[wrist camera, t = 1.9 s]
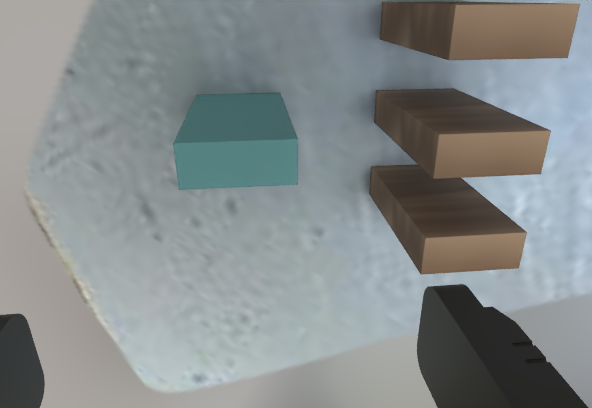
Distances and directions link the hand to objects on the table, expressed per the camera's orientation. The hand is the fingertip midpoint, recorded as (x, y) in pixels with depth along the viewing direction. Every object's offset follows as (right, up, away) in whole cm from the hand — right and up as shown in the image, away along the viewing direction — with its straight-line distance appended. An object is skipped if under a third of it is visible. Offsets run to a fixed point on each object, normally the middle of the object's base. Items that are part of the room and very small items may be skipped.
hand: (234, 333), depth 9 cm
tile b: (+9, +9, +20) cm, 23 cm away
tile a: (+9, +4, +22) cm, 24 cm away
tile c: (+9, +14, +17) cm, 24 cm away
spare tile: (-2, +8, +18) cm, 20 cm away
